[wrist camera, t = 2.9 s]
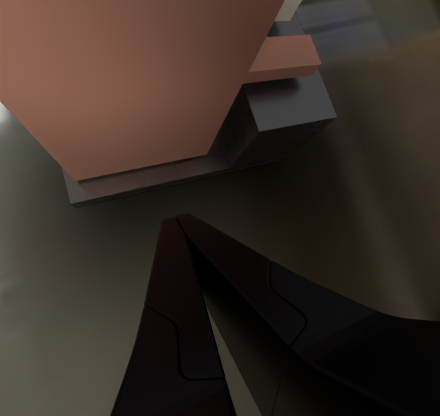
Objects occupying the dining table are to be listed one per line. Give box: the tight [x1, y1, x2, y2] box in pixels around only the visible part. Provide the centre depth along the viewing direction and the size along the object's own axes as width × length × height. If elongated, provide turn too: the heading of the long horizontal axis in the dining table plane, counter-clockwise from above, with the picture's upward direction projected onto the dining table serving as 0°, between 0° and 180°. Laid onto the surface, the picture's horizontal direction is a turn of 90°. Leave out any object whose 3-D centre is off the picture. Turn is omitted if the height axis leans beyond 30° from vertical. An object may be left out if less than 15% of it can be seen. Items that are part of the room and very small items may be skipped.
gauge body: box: [62, 11, 337, 208], centre depth 14 cm, size 12×13×6 cm
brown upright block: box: [0, 0, 321, 181], centre depth 10 cm, size 4×12×10 cm, turn 108°
